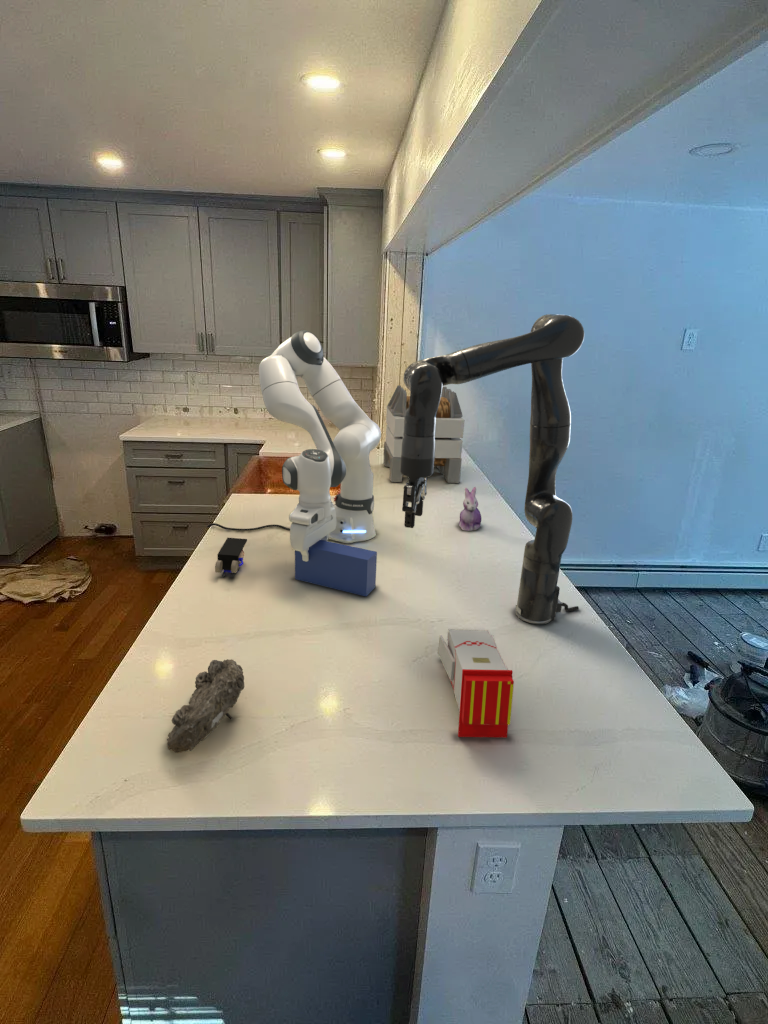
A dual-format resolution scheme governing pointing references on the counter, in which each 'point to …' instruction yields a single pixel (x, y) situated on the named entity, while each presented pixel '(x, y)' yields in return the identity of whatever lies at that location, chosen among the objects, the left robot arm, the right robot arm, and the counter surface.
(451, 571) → the counter surface
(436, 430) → the grey slatted crate
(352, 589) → the box
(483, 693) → the toy
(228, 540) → the figurine character
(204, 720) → the fossil
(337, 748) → the counter surface
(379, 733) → the counter surface
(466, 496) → the figurine
